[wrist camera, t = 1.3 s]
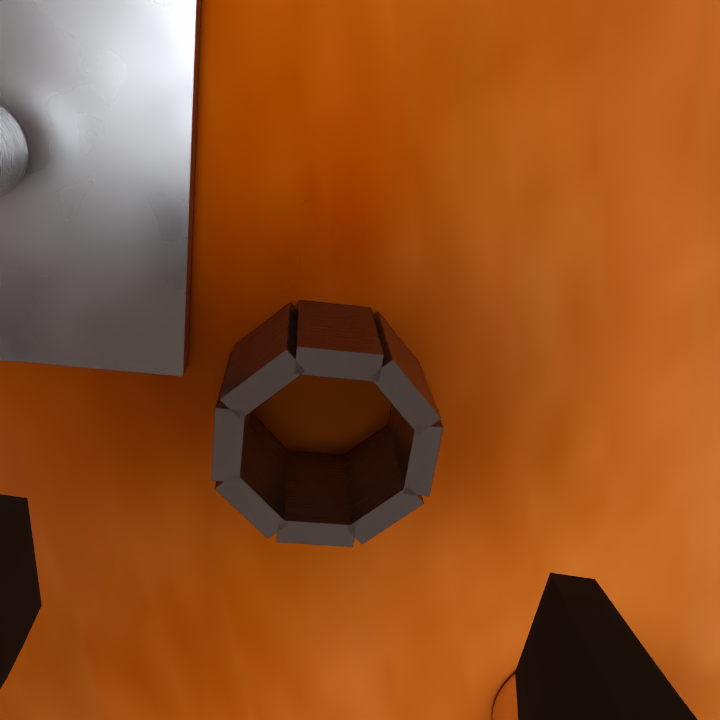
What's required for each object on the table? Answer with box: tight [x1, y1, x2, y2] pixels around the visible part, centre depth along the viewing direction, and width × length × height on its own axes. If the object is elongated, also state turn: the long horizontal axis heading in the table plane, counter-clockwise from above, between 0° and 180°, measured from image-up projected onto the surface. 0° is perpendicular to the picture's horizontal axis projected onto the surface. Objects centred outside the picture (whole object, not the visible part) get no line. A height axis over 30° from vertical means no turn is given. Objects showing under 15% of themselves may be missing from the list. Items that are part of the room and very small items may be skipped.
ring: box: [211, 300, 443, 547], centre depth 18 cm, size 6×6×4 cm
